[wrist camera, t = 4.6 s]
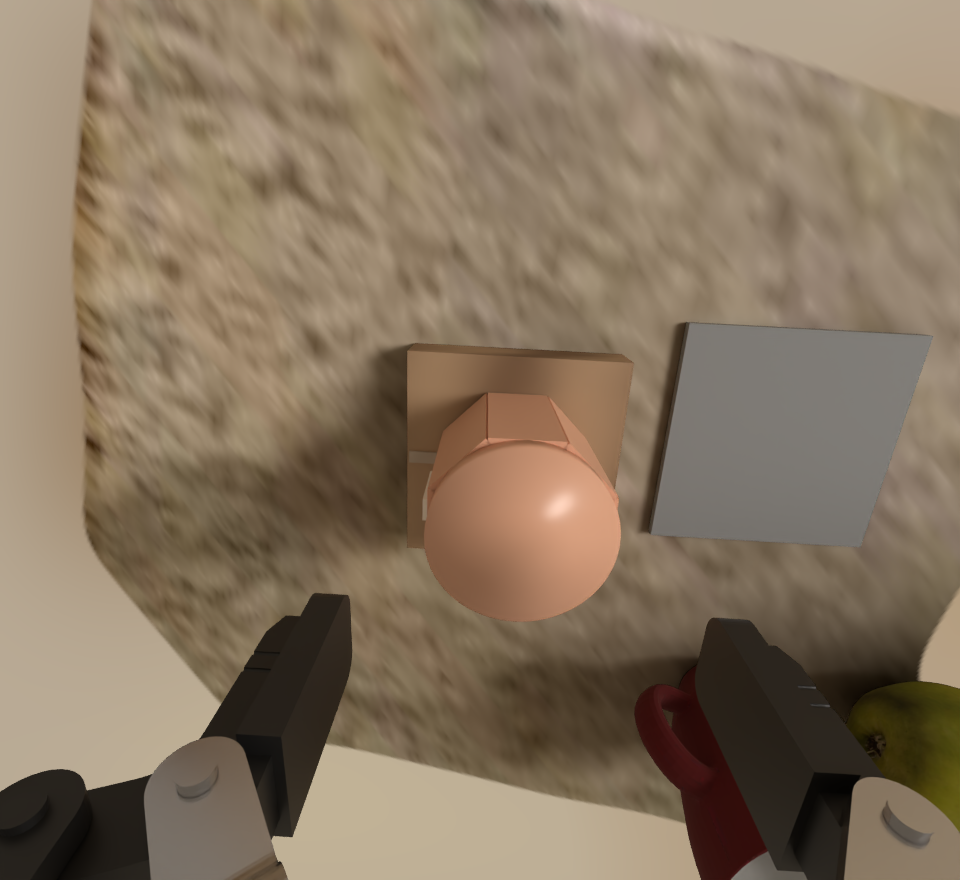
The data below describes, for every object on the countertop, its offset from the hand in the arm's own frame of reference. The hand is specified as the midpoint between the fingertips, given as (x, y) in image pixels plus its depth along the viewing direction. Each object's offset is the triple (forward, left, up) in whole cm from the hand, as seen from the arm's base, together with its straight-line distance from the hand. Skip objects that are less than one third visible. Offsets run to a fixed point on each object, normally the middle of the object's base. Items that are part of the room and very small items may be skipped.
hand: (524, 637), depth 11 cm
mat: (-12, -1, -13) cm, 18 cm away
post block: (0, 0, -13) cm, 13 cm away
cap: (0, 0, -11) cm, 11 cm away
